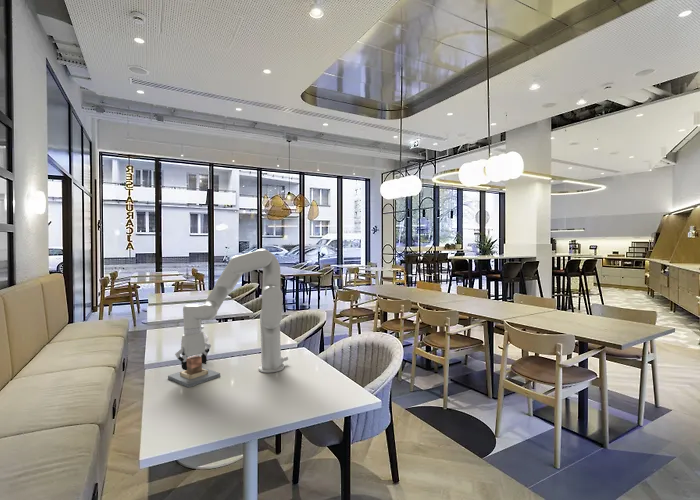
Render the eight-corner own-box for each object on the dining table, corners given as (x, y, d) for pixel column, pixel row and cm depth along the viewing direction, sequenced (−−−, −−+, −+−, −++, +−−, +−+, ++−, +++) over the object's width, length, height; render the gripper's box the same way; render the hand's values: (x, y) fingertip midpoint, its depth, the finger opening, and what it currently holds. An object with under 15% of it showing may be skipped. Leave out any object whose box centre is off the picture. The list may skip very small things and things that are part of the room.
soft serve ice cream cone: (189, 360, 204) (188, 331, 204) (200, 355, 212) (199, 327, 211) (201, 362, 201) (200, 332, 200) (212, 357, 209) (211, 328, 208)
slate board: (199, 368, 191) (199, 362, 191) (220, 376, 180) (220, 370, 180) (168, 378, 178) (167, 372, 178) (188, 387, 167) (187, 380, 167)
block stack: (196, 371, 182) (195, 355, 182) (202, 373, 179) (201, 357, 179) (186, 374, 179) (185, 358, 178) (192, 377, 175) (191, 360, 175)
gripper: (205, 325, 187) (206, 360, 188) (170, 333, 174) (172, 370, 174) (213, 327, 183) (215, 362, 183) (179, 336, 169) (180, 373, 170)
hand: (194, 366), depth 179 cm, fingers open, 9 cm apart
